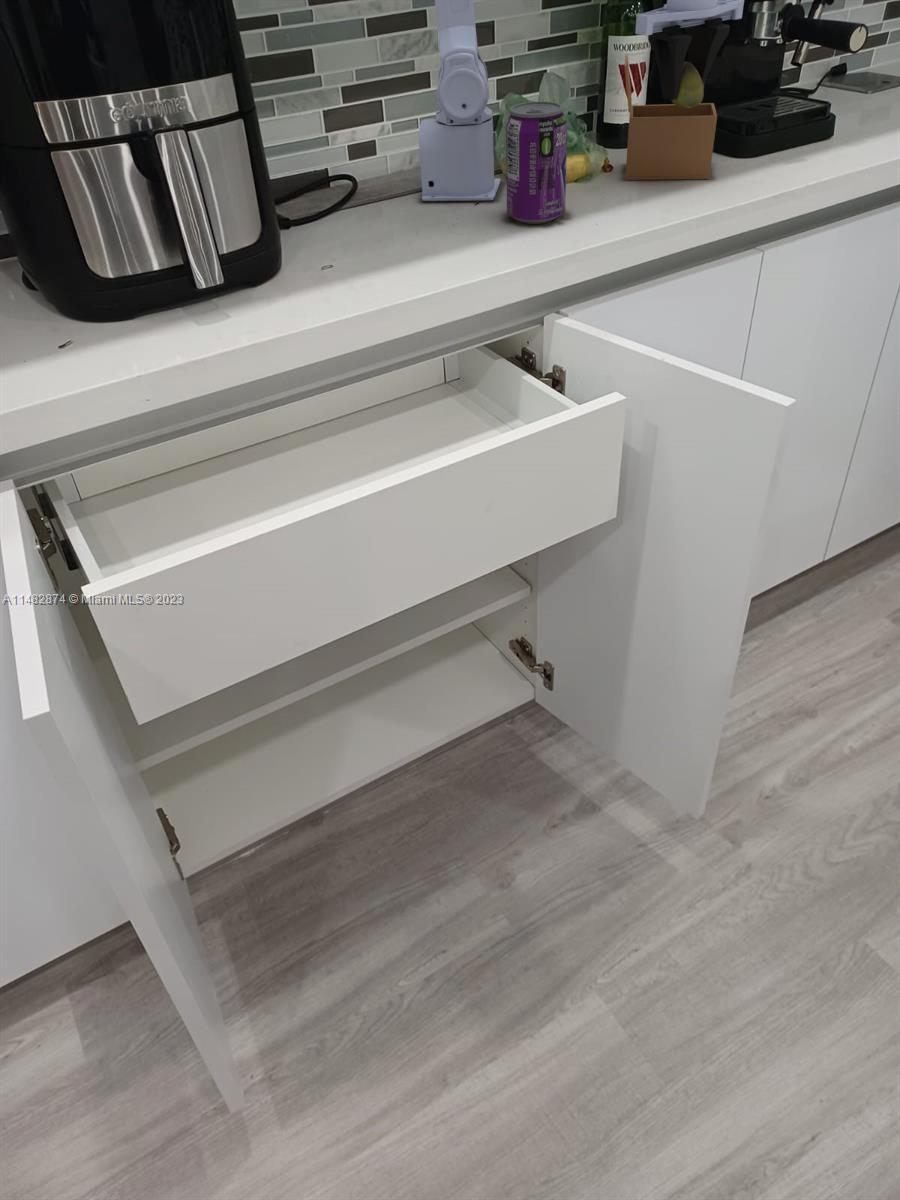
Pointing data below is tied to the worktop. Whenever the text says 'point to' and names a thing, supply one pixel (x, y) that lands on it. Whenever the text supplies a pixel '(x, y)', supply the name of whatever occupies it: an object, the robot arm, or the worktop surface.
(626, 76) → the flap
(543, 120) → the beverage can
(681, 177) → the carton
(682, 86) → the lime
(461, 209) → the worktop surface
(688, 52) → the robot arm
